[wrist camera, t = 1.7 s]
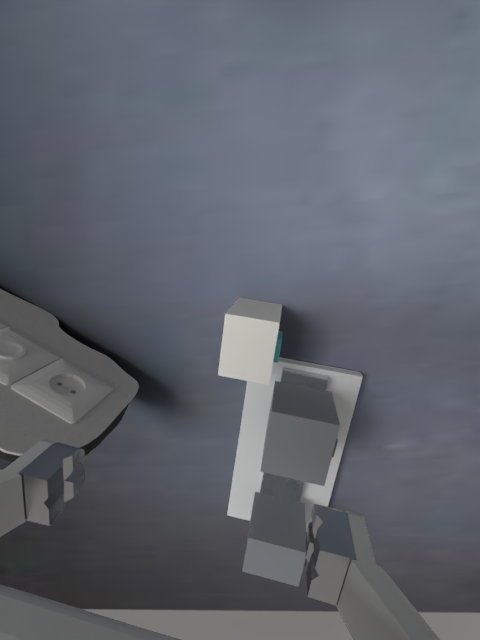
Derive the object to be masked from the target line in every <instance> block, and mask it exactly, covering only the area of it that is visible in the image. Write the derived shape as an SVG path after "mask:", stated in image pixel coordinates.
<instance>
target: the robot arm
mask: <svg viewBox="0 0 480 640" xmlns="http://www.w3.org/2000/svg"><path fill="white" fill-rule="evenodd" d="M84 459H85V450H83V449H81V448H77V447H73V446H70V445H66V444H62V443H59V442H54V441H50V440H46V439H44V440H41V441H39V442H38V443H36V444H35V445H34V446H33V447H31V448H30V449H29V450H28V451H26V452H25V453H24V454H23V455H21V456H20V457H19V458H18V459H16V460H15V461H14V462H13V463H12V464H10V465H9V466H8V467H7V468H5V469H4V470H0V537H1V536H2V535H4V534H6V533H7V532H9V531H11V530H12V529H14V528H16V527H17V526H19V525H21V524H22V523H24V522H25V520H27V521H31V522H35V523H40V524H44V525H48V526H50V525H51V524H52V522H53V521H54V520H55V519H56V518H57V517H58V515H59V514H60V513H61V512H62V511H63V509H64V505H65V502H66V501H68V500H70V499H72V498H74V496H75V495H76V494H77V493H78V491H79V490H80V488H81V486H82V484H83V482H84V478H85V468H84V466H83V464H82V463H81V462H82V461H83V460H84ZM311 516H312V522H310V523H309V525H308V529H307V535H306V559H307V561H308V562H309V564H308V568H307V572H306V575H307V596H308V597H310V598H314V599H317V600H320V601H323V602H327V603H330V604H333V605H336V606H337V609H338V611H339V613H340V615H341V616H342V619H343V621H344V623H345V625H346V627H347V628H348V630H349V632H350V634H351V636H352V638H353V640H440V639H439V638H438V637H437V635H436V634H435V633H434V632H433V631H432V629H431V628H430V627H429V625H428V624H427V623H426V622H425V620H424V619H423V618H422V617H421V615H420V614H419V613H418V612H417V610H416V609H415V608H414V607H413V605H412V604H411V603H410V602H409V601H408V599H407V598H406V597H405V596H404V594H403V593H402V592H401V591H400V589H399V588H398V587H397V586H396V584H395V583H394V582H393V581H392V579H391V578H390V577H389V576H388V574H387V573H386V572H385V571H384V569H383V568H382V567H380V566H376V562H375V558H374V555H373V551H372V547H371V543H370V539H369V535H368V531H367V528H366V524H365V520H364V517H363V516H362V514H358V513H353V512H349V511H344V510H339V509H335V508H331V507H326V506H322V505H317V504H314V506H313V509H312V512H311ZM0 640H180V639H177V638H173V637H170V636H167V635H163V634H160V633H157V632H153V631H150V630H147V629H144V628H140V627H137V626H134V625H131V624H127V623H124V622H121V621H118V620H114V619H111V618H108V617H104V616H101V615H98V614H95V613H92V612H88V611H85V610H82V609H79V608H75V607H72V606H69V605H65V604H62V603H59V602H56V601H52V600H49V599H46V598H43V597H39V596H36V595H33V594H30V593H26V592H23V591H20V590H17V589H13V588H10V587H7V586H3V585H0Z"/></svg>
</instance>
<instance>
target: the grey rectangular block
mask: <svg viewBox="0 0 480 640" xmlns="http://www.w3.org/2000/svg"><path fill="white" fill-rule="evenodd" d="M280 382H284V383H289V384H294V385H299V386H304V387H310V388H315V389H320V390H325V391H326V389H327V384H328V377H327V375H322V374H317V373H311V372H306V371H301V370H296V369H290V368H285V367H283V369H282V374H281V380H280ZM303 486H304V481H299V480H295V479H291V478H286V477H282V476H278V475H273V474H269V473H265V472H263V477H262V482H261V488H260V493H263V494H267V495H271V496H276V497H280V498H284V499H288V500H292V501H296V502H300V499H301V495H302V491H303Z"/></svg>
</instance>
